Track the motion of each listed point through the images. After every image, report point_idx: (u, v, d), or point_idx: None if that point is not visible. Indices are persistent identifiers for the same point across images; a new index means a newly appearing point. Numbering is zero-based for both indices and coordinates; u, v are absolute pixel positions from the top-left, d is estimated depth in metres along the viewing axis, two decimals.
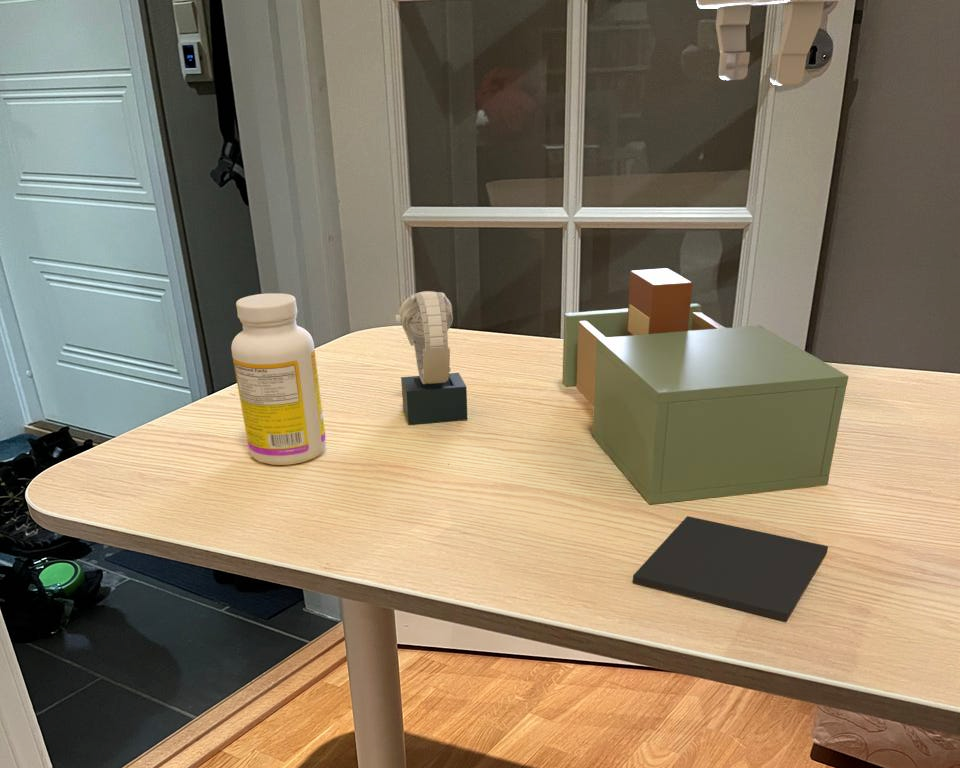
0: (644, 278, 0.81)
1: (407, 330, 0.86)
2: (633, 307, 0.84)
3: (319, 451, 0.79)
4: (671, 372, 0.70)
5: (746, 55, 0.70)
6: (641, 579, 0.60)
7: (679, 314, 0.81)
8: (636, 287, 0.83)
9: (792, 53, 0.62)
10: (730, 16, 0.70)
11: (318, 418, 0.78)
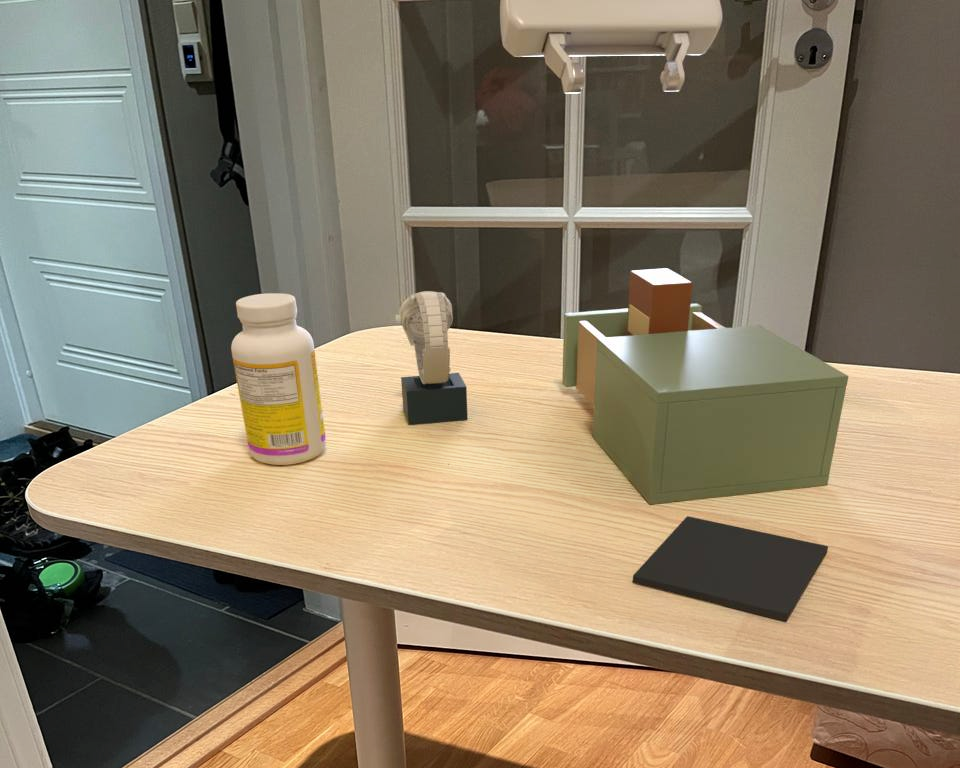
0: (644, 278, 0.81)
1: (407, 330, 0.86)
2: (633, 307, 0.84)
3: (319, 451, 0.79)
4: (671, 372, 0.70)
5: (666, 66, 0.84)
6: (641, 579, 0.60)
7: (679, 314, 0.81)
8: (636, 287, 0.83)
9: (561, 72, 0.83)
10: (668, 52, 0.86)
11: (318, 418, 0.78)
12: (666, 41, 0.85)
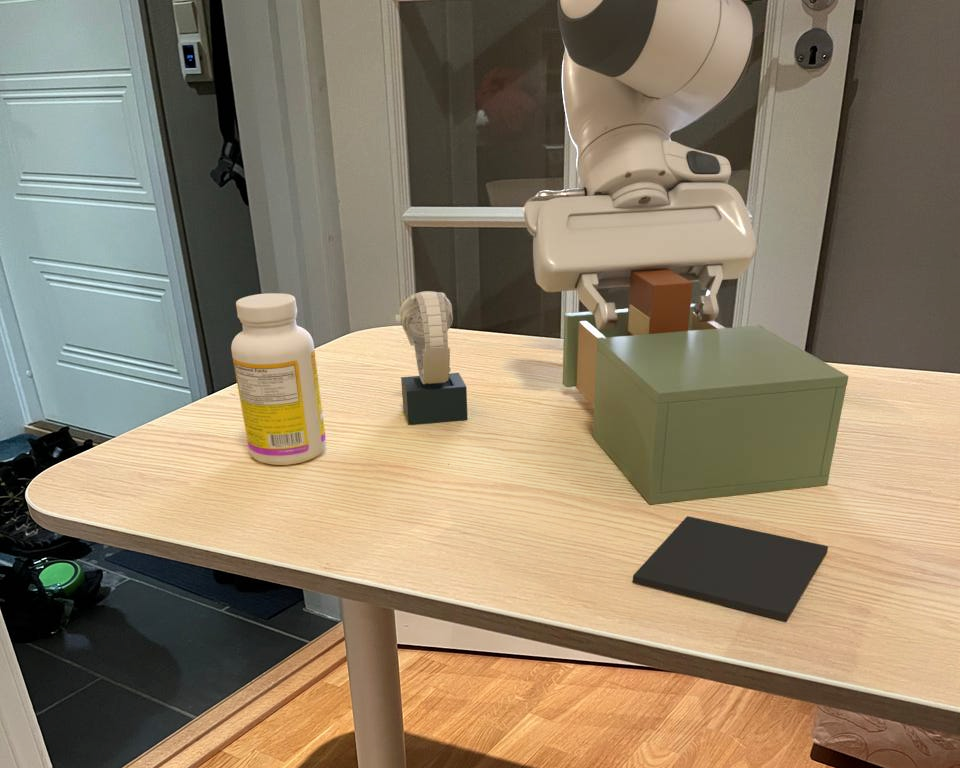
0: (644, 278, 0.81)
1: (407, 330, 0.86)
2: (634, 307, 0.84)
3: (319, 451, 0.79)
4: (671, 372, 0.70)
5: (699, 299, 0.84)
6: (641, 579, 0.60)
7: (680, 314, 0.81)
8: (636, 287, 0.83)
9: (594, 309, 0.83)
10: (702, 281, 0.85)
11: (318, 418, 0.78)
12: (700, 270, 0.85)
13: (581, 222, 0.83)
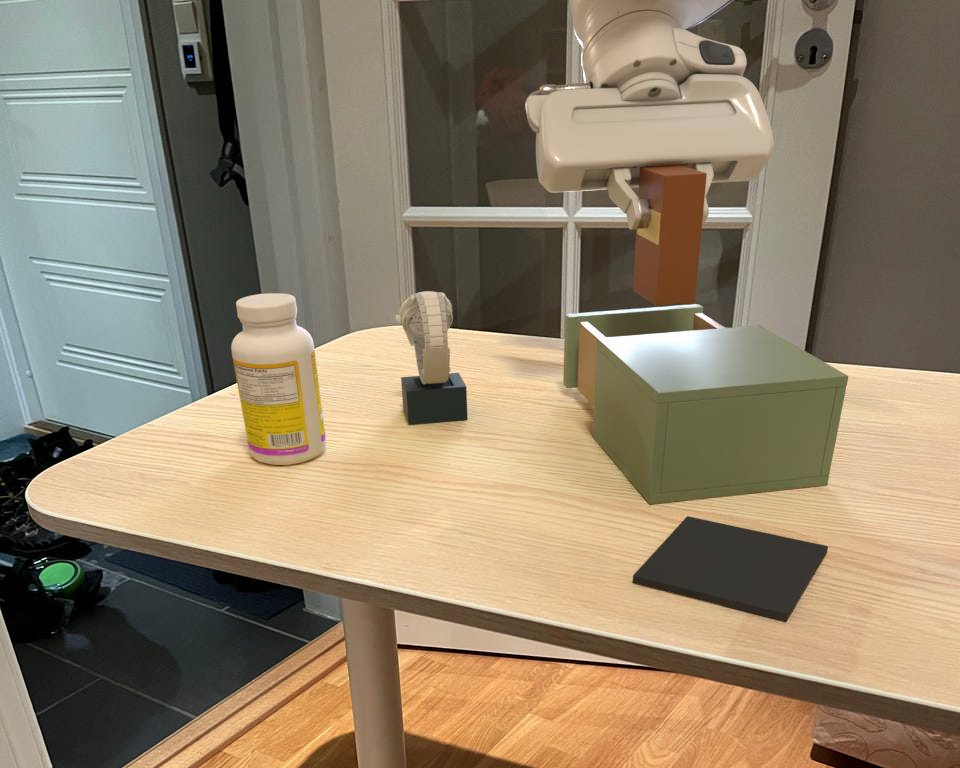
0: (655, 171, 0.76)
1: (407, 330, 0.86)
2: None
3: (319, 451, 0.79)
4: (671, 372, 0.70)
5: None
6: (641, 579, 0.60)
7: (693, 209, 0.75)
8: (646, 183, 0.78)
9: (626, 207, 0.78)
10: None
11: (318, 418, 0.78)
12: None
13: (587, 115, 0.78)
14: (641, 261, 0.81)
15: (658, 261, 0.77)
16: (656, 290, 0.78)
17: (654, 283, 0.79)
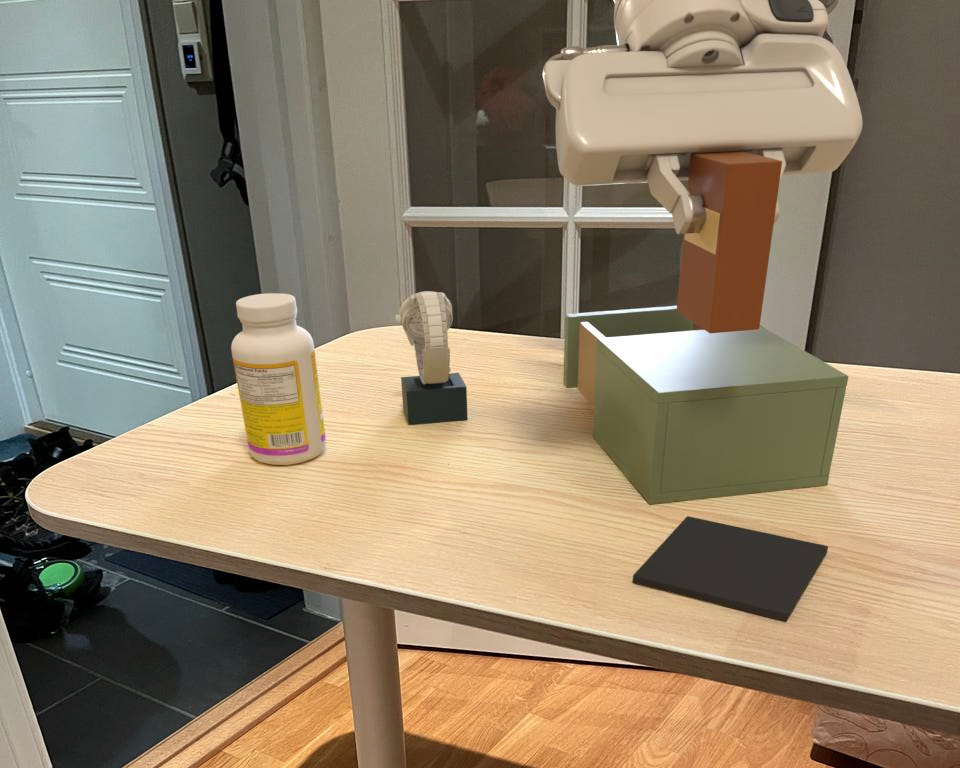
0: (712, 158, 0.58)
1: (407, 330, 0.86)
2: None
3: (319, 451, 0.79)
4: (671, 372, 0.70)
5: None
6: (641, 579, 0.60)
7: (762, 209, 0.58)
8: (699, 174, 0.60)
9: (672, 206, 0.60)
10: None
11: (318, 418, 0.78)
12: None
13: (623, 86, 0.60)
14: (689, 274, 0.63)
15: (714, 276, 0.59)
16: (711, 313, 0.61)
17: (708, 304, 0.61)
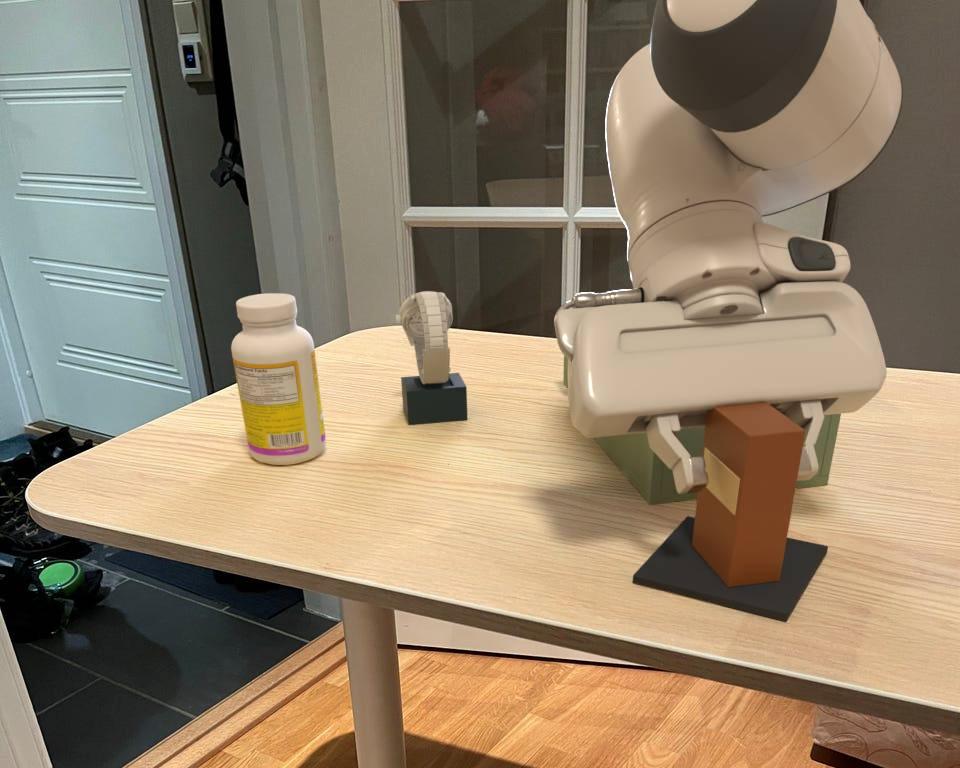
0: (732, 420, 0.55)
1: (407, 330, 0.86)
2: (712, 454, 0.58)
3: (319, 451, 0.79)
4: None
5: None
6: (641, 579, 0.60)
7: (784, 474, 0.55)
8: (717, 428, 0.57)
9: (673, 464, 0.58)
10: None
11: (318, 418, 0.78)
12: (788, 406, 0.60)
13: (638, 341, 0.58)
14: (706, 519, 0.61)
15: (734, 536, 0.57)
16: (729, 569, 0.58)
17: (726, 558, 0.58)
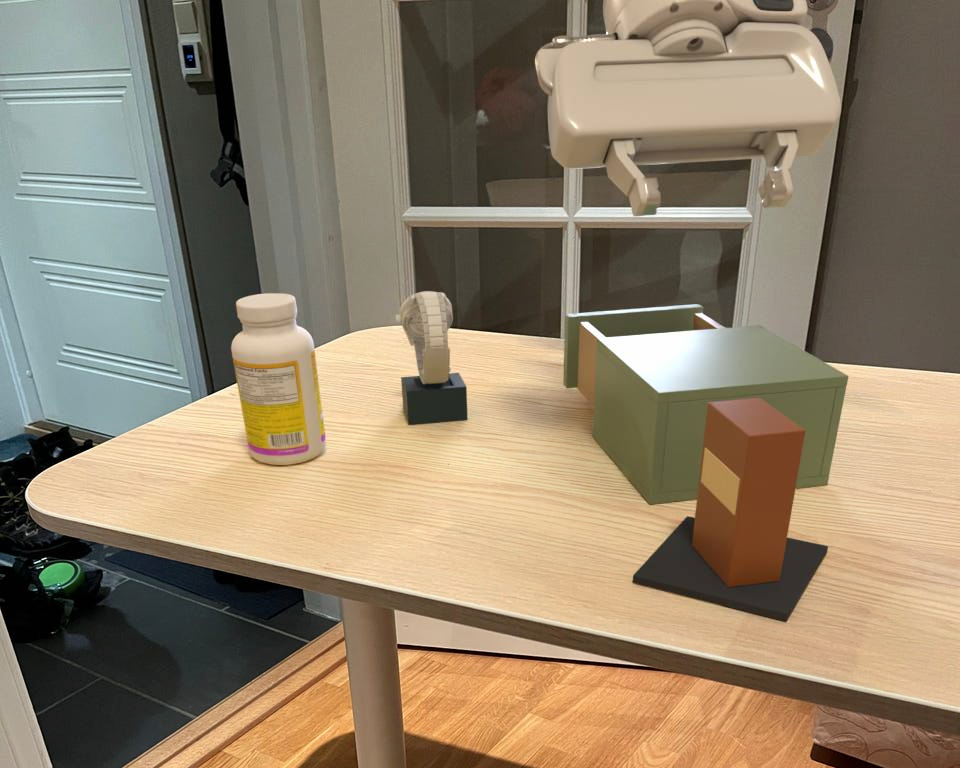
0: (732, 420, 0.55)
1: (407, 330, 0.86)
2: (712, 454, 0.58)
3: (319, 451, 0.79)
4: (671, 372, 0.70)
5: (767, 176, 0.64)
6: (641, 579, 0.60)
7: (784, 474, 0.55)
8: (717, 428, 0.57)
9: (629, 189, 0.63)
10: (768, 156, 0.65)
11: (318, 418, 0.78)
12: (766, 142, 0.65)
13: (612, 73, 0.63)
14: (706, 519, 0.61)
15: (734, 536, 0.57)
16: (729, 569, 0.58)
17: (726, 558, 0.58)
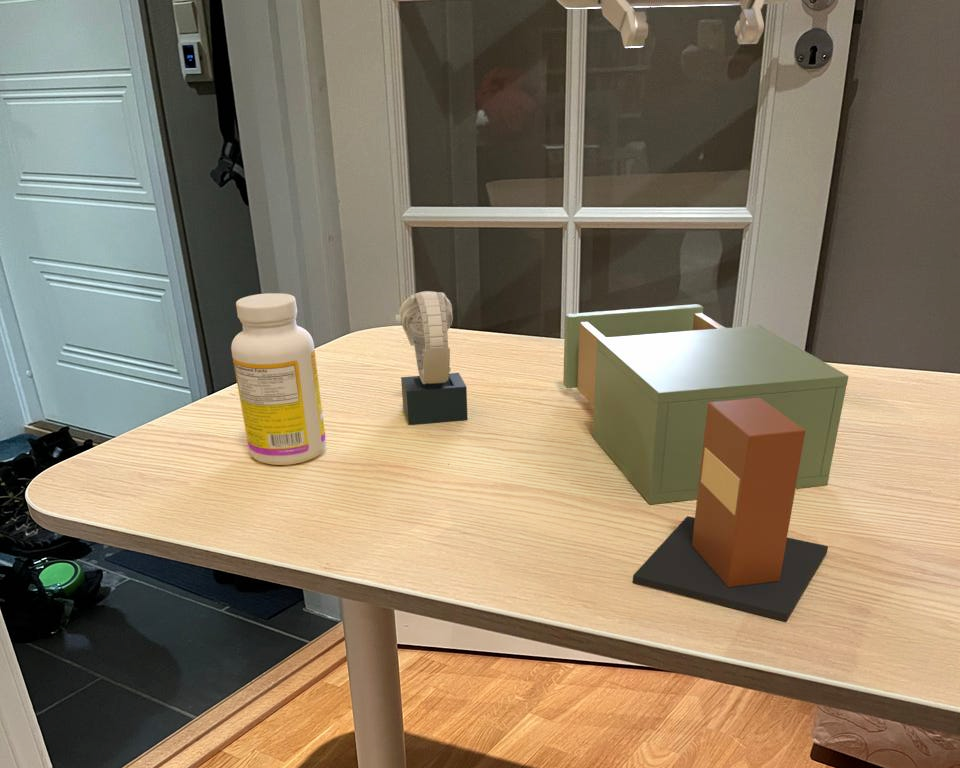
0: (732, 420, 0.55)
1: (407, 330, 0.86)
2: (712, 454, 0.58)
3: (319, 451, 0.79)
4: (671, 372, 0.70)
5: (742, 14, 0.73)
6: (641, 579, 0.60)
7: (784, 474, 0.55)
8: (717, 428, 0.57)
9: (620, 23, 0.72)
10: (743, 0, 0.75)
11: (318, 418, 0.78)
12: None
13: None
14: (706, 519, 0.61)
15: (734, 536, 0.57)
16: (729, 569, 0.58)
17: (726, 558, 0.58)
